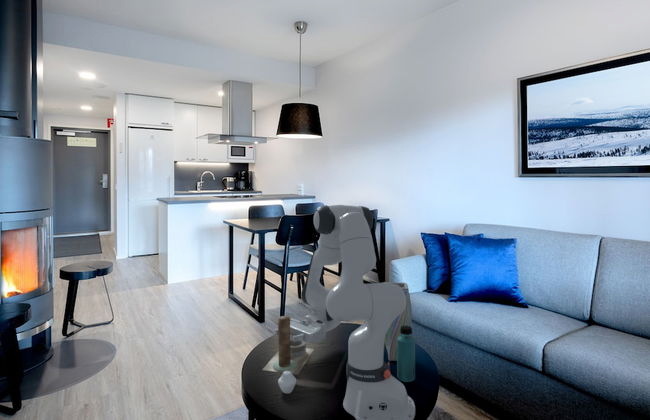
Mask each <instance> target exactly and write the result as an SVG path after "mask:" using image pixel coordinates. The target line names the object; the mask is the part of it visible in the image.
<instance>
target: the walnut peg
mask: <svg viewBox="0 0 650 420" xmlns="http://www.w3.org/2000/svg"><path fill="white" fill-rule="evenodd" d="M290 318H291V317H290V316H289V315H281V316H278V318H277V329H278V335H277V336H278V337H277V338H278V339H277V341H278V347H277V348H278V350H277V351H279V366H280V367H288V366H290V365H291V358H290V339H291V335H290Z"/></svg>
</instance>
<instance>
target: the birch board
mask: <svg viewBox="0 0 650 420" xmlns="http://www.w3.org/2000/svg"><path fill="white" fill-rule="evenodd" d="M314 350H315V349H314V348H309V347H307V342H305V341H295V342H293V341H291V338H290V358H291V360H293V361H295V362H296V368H295V369H293V370H291V371H290V372H292V375H299V374H300V373H301V371H302V369H303V368H304V366H305V364H306V363H307V362H308V360H309V358H310V356H311V355H312V354H313V351H314ZM278 360H279V350H277V352H276V353H275V354H274V355H273V357H272V358H271V359H270V360H269V361H268V362H267V364H266V365H265V366H264V367H263V368H262V371H267V372H268V371H269V372H275V373H283V372H281V371H276V370H274V369H273V363H274V362H276V361H278Z"/></svg>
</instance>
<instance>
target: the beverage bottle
mask: <svg viewBox="0 0 650 420" xmlns="http://www.w3.org/2000/svg"><path fill="white" fill-rule="evenodd" d="M400 333H401V334H402V335H400V336H399V337H398V338H397V361H396V377H397V380H398V381H400V382H404V383H405V382H406V383H409V382H413V381H415V379H416V339H415V337H413V335H412V334H413V328H412V326H411V327H410V326H401V329H400Z"/></svg>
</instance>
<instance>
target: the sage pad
mask: <svg viewBox="0 0 650 420" xmlns="http://www.w3.org/2000/svg"><path fill="white" fill-rule="evenodd" d="M295 368H296V362H295V361H293V360H291V365H290V366H288V367H280V366H279V360H278V361H276V362H274V363H273V369H274V370H276V371H281V372H280V373H282V372H285V371H291V370H293V369H295Z"/></svg>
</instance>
